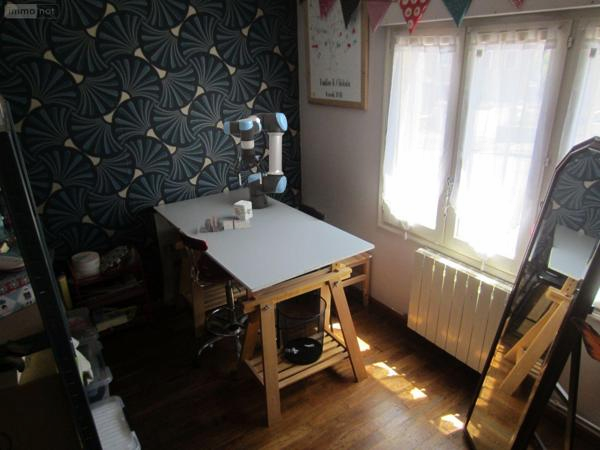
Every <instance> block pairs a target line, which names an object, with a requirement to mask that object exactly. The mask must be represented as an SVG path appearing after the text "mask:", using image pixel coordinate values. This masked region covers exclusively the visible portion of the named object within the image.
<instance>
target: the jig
mask: <svg viewBox="0 0 600 450" xmlns="http://www.w3.org/2000/svg"><path fill="white" fill-rule="evenodd" d="M215 220H216V221H215ZM211 221H212V222H211ZM204 228H205V233H211V232H212V230H213V233H215V232H216V230H217V232H223V230H224V223H223V218H222V217H217V218H216V219H215V215H214V214H213V215H212V219H211V218H205V221H204Z"/></svg>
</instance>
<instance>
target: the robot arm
mask: <svg viewBox="0 0 600 450" xmlns="http://www.w3.org/2000/svg"><path fill="white" fill-rule="evenodd" d="M222 130H223V132H224V134H225V135H239V137H240V147H241V148H240V149H241V156H237V157H236V163H235V166H234V169H233V174H235V175H236V177H237V180H238V181H239V186H242V179H241V178H242V177H241V172H242V170H243V168H244V167H245V165H248V164H249V165H251V164H253V165H254V167H256V169H257V170H258V171H259V172H257V173H253V174H250V175H249V176H248V177H247V178H248V180H247V181H248V182H247V183H248V191H249V192H248V193H249V197H248V200H247V201H250V202H251V203H252V210H259V209H266V208H268V207H269V206H270V202H269V199H268V196H267V193H273V194H274V193H275V194H282V193H284V191H286V187H287V177H286V176H285V175H284V174H285V173H284V172H283V171H282V169H283V168H282V161H283V160H282V158H283V157H282V155H283V154H282V150H283V149H282V148H283V147H282V146H283V144H282V143H283V142H282V141H283V135H284V134H285V131H287V130H288V121H287V117H286V116H285V114H284V113H282V112H259V113H256V114H254V115H250V116H248V117H247V118H244V119H238V120H235V121H234V120H233V121H224V123H223V125H222ZM261 131H266V133H267V135H268V136H269V139H268V143H269V147H268V149H269V150H268V160H269V161H268V165H269V166H268V172H267V173H266V174H265V172H266V168H265V165H264V164H263V160H262V159H261V155H256V151H255V139H254V136H255V135H257V134H259V133H260V132H261ZM256 159H257V160H258V162H259V164H260V166H261V167H260V166H259V164H257V162H256ZM241 160H242V163H241V165H240V166H239V163H240V161H241ZM238 167H239V168H238ZM261 168H262V169H261ZM237 169H238V170H237Z"/></svg>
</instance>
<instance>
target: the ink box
mask: <svg viewBox="0 0 600 450" xmlns="http://www.w3.org/2000/svg"><path fill="white" fill-rule="evenodd" d="M233 206H234V207H233V209H234V218H235V220H247V219H251V218H253V216H254V215H253V209H252V203H251V202H250V201H248V200H243V199H242V200H239V201H237V202H234V204H233Z"/></svg>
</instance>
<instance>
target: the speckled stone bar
mask: <svg viewBox="0 0 600 450" xmlns="http://www.w3.org/2000/svg"><path fill="white" fill-rule="evenodd" d="M250 219H251V218H249V219H247V220H239V219H235V220H224V221H223V230H224V231H225V230H226V231H227V230H228V231H229V230H237V229H250V228H251V220H250Z"/></svg>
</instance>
